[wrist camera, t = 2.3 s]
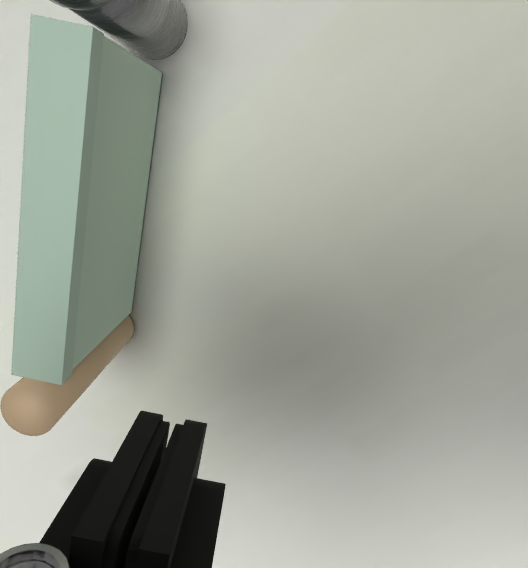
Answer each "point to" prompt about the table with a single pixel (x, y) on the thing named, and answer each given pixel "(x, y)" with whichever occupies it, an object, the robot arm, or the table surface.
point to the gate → (77, 215)
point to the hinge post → (136, 23)
